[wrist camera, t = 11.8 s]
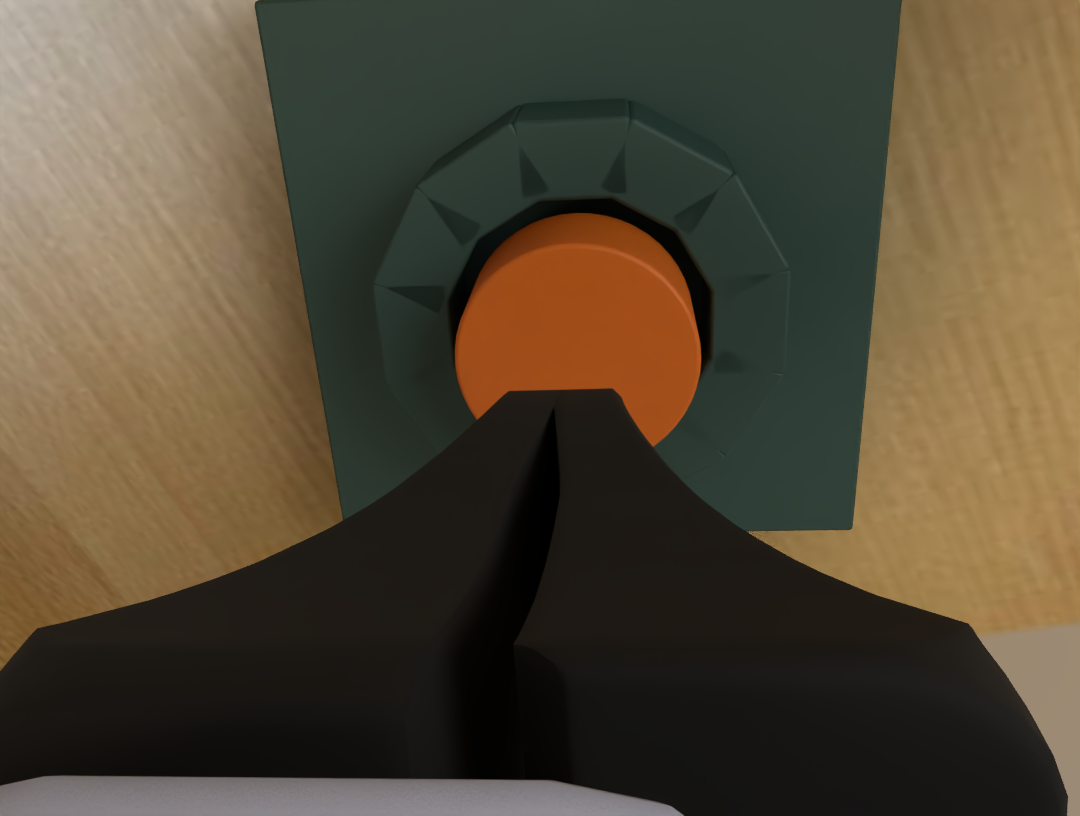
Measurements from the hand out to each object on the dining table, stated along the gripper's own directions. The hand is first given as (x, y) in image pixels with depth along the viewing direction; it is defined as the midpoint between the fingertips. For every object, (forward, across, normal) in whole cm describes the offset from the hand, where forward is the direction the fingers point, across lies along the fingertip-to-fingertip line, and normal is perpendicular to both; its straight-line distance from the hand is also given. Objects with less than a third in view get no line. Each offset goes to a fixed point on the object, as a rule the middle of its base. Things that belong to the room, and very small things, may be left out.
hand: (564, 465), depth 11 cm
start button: (+5, 0, 0) cm, 5 cm away
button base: (+8, 0, 0) cm, 8 cm away
